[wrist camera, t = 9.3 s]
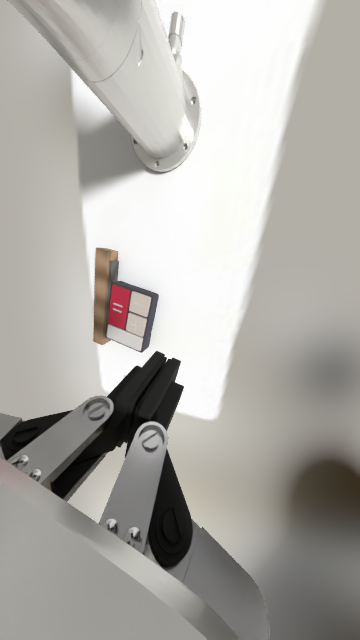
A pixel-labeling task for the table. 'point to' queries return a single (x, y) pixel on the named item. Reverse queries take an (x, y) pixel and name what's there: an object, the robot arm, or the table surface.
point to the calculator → (131, 315)
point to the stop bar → (103, 290)
